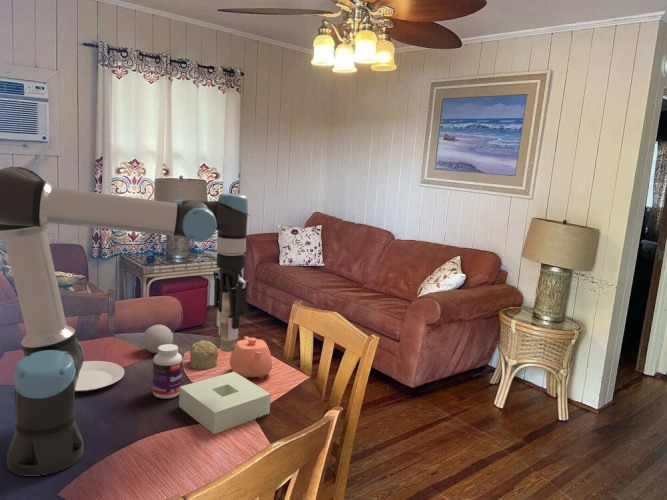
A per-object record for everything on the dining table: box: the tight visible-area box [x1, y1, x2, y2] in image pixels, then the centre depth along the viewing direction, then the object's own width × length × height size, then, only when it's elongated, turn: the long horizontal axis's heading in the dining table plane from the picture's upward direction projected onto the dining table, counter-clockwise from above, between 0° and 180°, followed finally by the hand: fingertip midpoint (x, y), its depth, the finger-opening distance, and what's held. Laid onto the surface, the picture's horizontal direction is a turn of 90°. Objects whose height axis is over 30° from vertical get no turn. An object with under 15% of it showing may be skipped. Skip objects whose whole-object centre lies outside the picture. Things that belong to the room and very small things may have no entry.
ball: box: [142, 324, 174, 355], centre depth 179 cm, size 10×10×10 cm
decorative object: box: [189, 339, 219, 370], centre depth 173 cm, size 9×10×10 cm
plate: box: [75, 360, 125, 392], centre depth 155 cm, size 21×21×2 cm
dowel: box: [219, 291, 237, 353], centre depth 139 cm, size 4×4×16 cm
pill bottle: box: [152, 343, 183, 400], centre depth 150 cm, size 8×8×14 cm
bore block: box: [178, 371, 272, 435], centre depth 144 cm, size 18×18×6 cm
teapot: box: [229, 335, 273, 380], centre depth 167 cm, size 13×20×12 cm, turn 22°
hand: (228, 336), depth 140 cm, fingers closed on dowel, 4 cm apart
